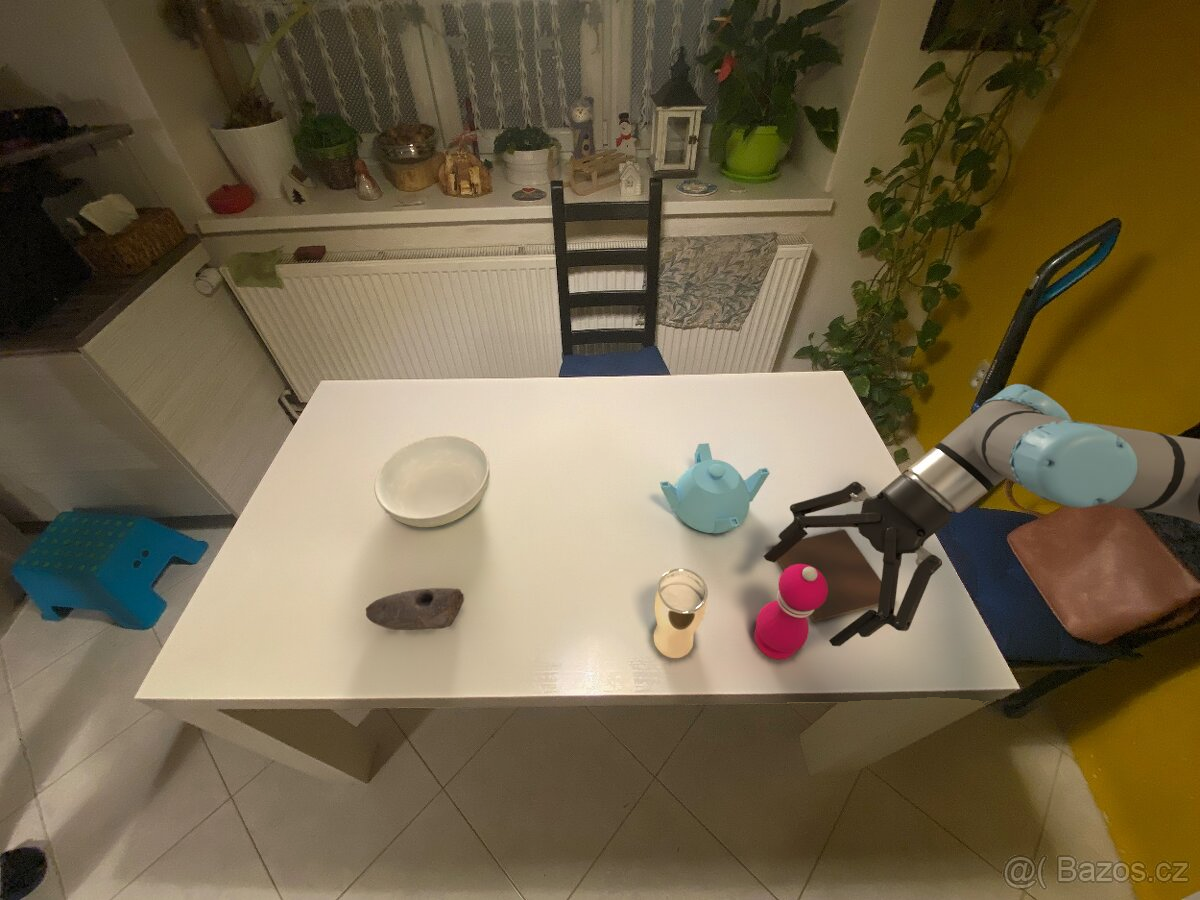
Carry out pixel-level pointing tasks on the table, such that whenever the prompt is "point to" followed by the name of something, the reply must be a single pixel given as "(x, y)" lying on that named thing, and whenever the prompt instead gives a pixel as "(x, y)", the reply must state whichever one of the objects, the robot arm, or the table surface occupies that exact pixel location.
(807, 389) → the table surface
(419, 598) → the perforated stone tool
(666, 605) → the beer glass
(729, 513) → the teapot
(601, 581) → the table surface
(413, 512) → the serving bowl
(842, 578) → the walnut board
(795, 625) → the pepper mill
